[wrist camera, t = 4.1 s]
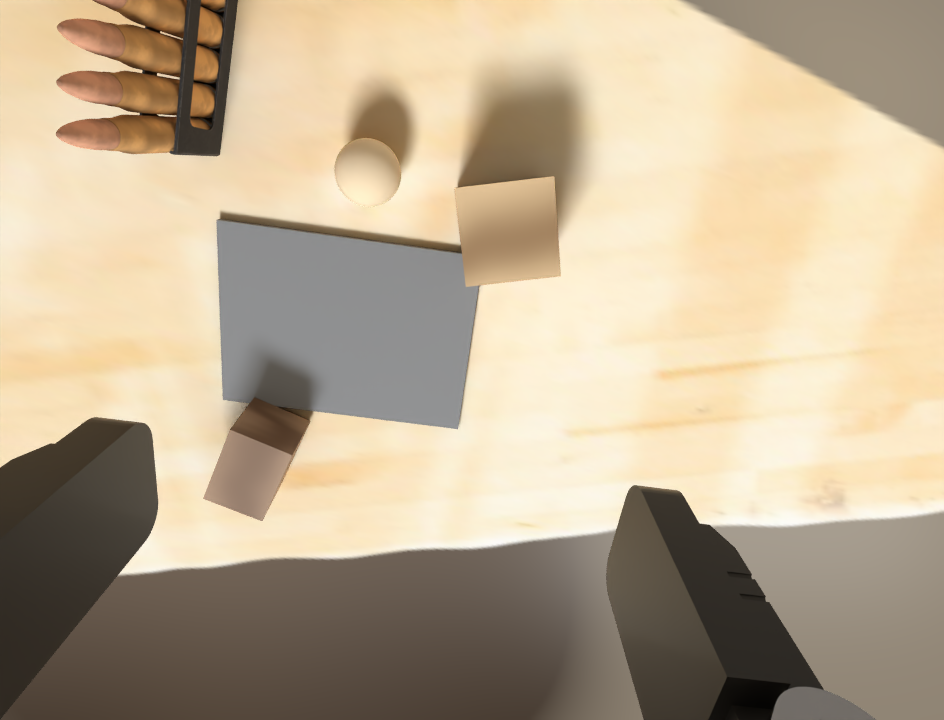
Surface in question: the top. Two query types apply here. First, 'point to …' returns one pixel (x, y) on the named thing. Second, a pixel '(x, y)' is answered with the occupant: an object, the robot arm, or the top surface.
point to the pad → (343, 324)
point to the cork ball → (367, 172)
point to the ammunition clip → (155, 77)
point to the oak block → (508, 231)
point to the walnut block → (255, 458)
